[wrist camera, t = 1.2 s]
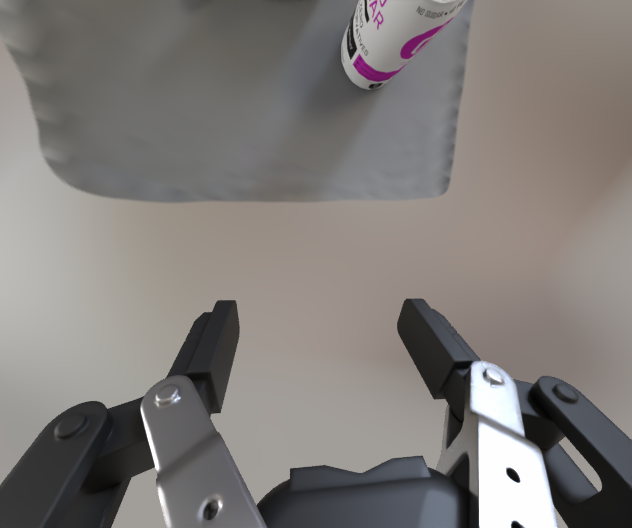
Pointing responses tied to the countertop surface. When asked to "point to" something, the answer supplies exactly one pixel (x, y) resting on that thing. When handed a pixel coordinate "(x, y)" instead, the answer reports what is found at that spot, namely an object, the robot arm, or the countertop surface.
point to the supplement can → (390, 36)
